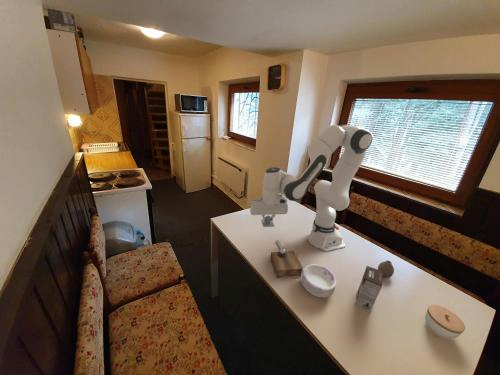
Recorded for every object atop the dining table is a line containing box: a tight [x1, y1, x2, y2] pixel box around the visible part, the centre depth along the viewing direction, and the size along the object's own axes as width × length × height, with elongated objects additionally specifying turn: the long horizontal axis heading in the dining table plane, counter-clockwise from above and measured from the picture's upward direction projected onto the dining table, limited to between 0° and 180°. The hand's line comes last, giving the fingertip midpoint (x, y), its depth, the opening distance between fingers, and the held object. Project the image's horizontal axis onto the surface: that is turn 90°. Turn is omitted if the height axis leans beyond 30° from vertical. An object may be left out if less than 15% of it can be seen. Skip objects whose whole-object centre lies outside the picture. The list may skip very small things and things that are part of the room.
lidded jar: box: [424, 304, 466, 340], centre depth 79 cm, size 11×11×9 cm
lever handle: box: [275, 239, 287, 256], centre depth 111 cm, size 10×3×3 cm, turn 15°
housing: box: [269, 250, 303, 279], centre depth 106 cm, size 13×13×5 cm
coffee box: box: [355, 265, 384, 313], centre depth 88 cm, size 9×6×16 cm
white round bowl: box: [300, 263, 338, 298], centre depth 95 cm, size 15×15×8 cm
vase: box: [377, 260, 395, 279], centre depth 104 cm, size 7×7×9 cm
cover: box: [260, 215, 275, 228], centre depth 111 cm, size 6×6×4 cm
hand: (267, 220), depth 111 cm, fingers closed on cover, 2 cm apart
